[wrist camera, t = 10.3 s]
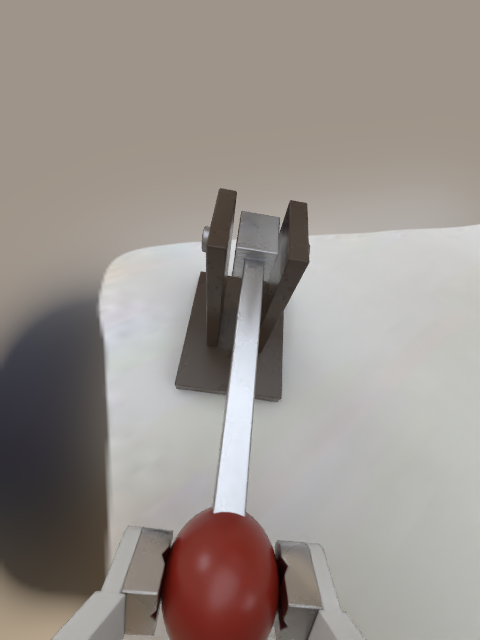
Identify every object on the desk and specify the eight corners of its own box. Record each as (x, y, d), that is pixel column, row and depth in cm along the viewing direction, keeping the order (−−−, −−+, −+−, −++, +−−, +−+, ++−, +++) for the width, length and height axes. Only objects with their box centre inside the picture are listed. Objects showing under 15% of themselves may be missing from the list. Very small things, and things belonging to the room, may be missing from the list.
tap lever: (263, 629, 9) (294, 731, 6) (158, 620, 9) (129, 720, 5) (278, 255, 17) (295, 210, 14) (225, 246, 17) (229, 198, 13)
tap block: (277, 401, 22) (360, 341, 10) (176, 388, 22) (138, 308, 10) (280, 291, 28) (336, 169, 16) (200, 279, 28) (196, 143, 16)
